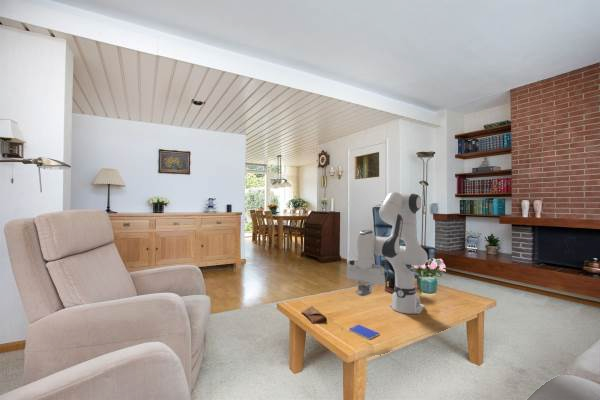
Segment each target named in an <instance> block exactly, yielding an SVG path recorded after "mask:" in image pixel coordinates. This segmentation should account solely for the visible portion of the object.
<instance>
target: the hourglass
mask: <svg viewBox="0 0 600 400" xmlns="http://www.w3.org/2000/svg"><path fill="white" fill-rule="evenodd" d="M384 257H385V256H384ZM384 259H385V271H386V273H387V275H385V283H384V291H385V292H386V293H389V294H392V295H393V293H394V292H395V289H394V287H395V271H394V268H393V266H392V265H391V263H390V262H389V261H388V260H387V259H386V257H385V258H384ZM405 265H406V267H407V268H408V264H405ZM388 267H389V269H390V270H391V272H392V273H393V276H391V277H390V279H388V278H389V276H390V271H389V270H388Z"/></svg>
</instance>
